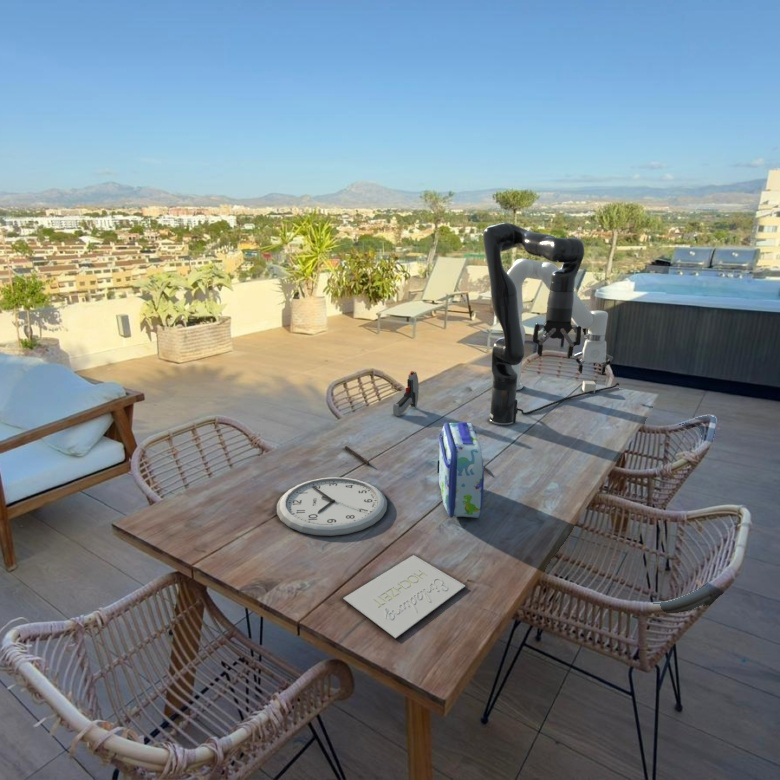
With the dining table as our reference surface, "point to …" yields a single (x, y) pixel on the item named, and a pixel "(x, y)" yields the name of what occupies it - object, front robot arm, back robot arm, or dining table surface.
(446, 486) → the lunch box
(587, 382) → the block
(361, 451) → the dining table surface
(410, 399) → the toy gun
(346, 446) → the brown thin rod
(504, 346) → the front robot arm
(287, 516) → the wall clock
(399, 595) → the invitation card
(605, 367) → the back robot arm
